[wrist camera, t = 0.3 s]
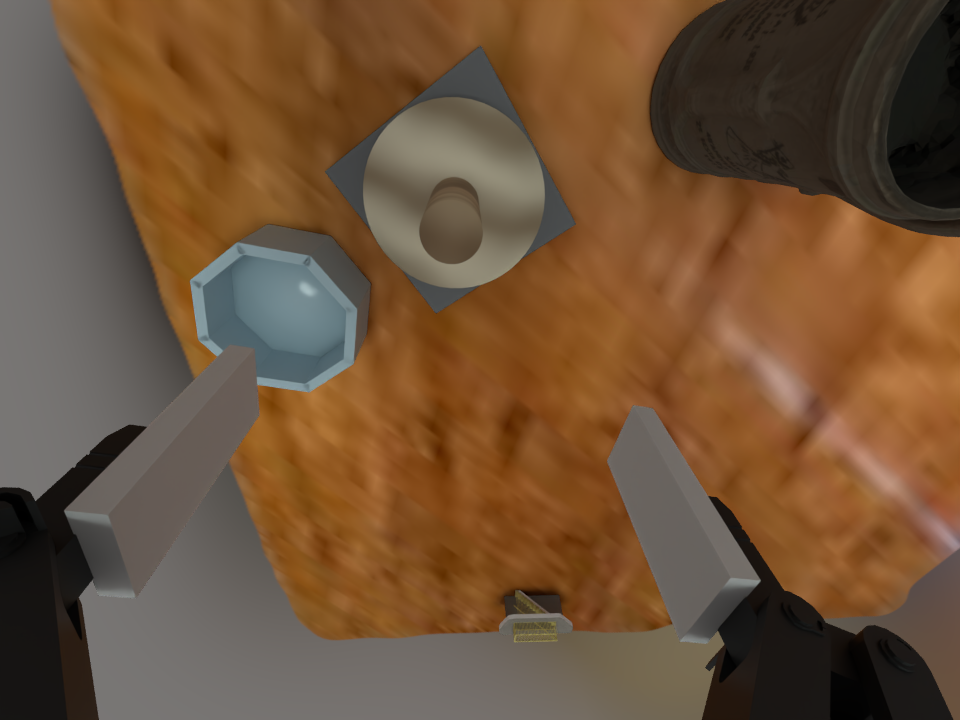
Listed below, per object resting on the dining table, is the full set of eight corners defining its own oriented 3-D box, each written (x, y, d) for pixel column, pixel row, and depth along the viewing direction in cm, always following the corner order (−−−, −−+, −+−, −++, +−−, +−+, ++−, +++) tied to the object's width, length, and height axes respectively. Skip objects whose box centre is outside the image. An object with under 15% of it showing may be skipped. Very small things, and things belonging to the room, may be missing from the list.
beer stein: (610, 112, 31) (809, 144, 15) (723, -54, 27) (1195, -281, 10) (742, 222, 37) (997, 338, 20) (854, 99, 32) (1302, 115, 16)
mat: (327, 170, 33) (324, 171, 32) (480, 47, 29) (480, 45, 29) (436, 309, 39) (436, 313, 38) (573, 221, 35) (576, 224, 35)
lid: (374, 76, 29) (333, 62, 20) (563, 121, 31) (604, 127, 22) (361, 265, 36) (326, 319, 27) (517, 294, 38) (534, 354, 29)
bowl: (222, 215, 34) (183, 232, 30) (374, 244, 36) (360, 264, 31) (234, 345, 40) (203, 377, 36) (364, 365, 42) (351, 398, 37)
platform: (469, 565, 59) (469, 614, 53) (599, 562, 59) (613, 610, 54) (469, 614, 65) (469, 662, 59) (587, 611, 65) (599, 659, 60)
